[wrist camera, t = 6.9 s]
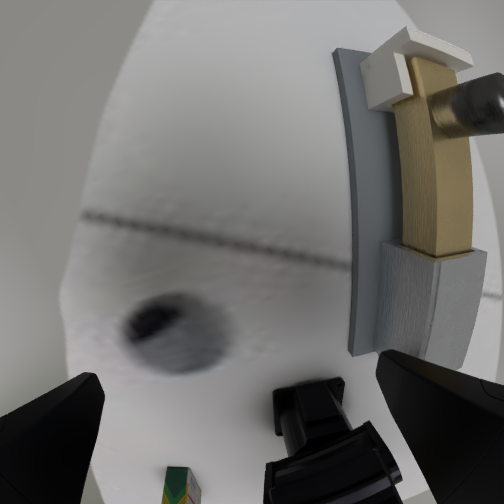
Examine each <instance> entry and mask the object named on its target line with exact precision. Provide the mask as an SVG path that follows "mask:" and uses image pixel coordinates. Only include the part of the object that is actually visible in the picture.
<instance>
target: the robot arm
mask: <svg viewBox="0 0 504 504" xmlns="http://www.w3.org/2000/svg"><path fill="white" fill-rule="evenodd" d="M376 378H377V381H378V383H379V386H380V388H381V390H382V393H383V395H384V398H385V400H386V403H387V405H388V408H389V410H390V412H391V414H392V416H393V418H394V420H395V422H396V424H397V426H398V428H399V429H400V431H401V433H402V435H403V437H404V439H405V441H406V442H407V444H408V446H409V448H410V450H411V452H412V454H413V456H414V458H415V460H416V462H417V464H418V466H419V468H420V470H421V471H422V473H423V475H424V477H425V479H426V482H427V484H428V486H429V488H430V490H431V492H432V494H433V496H434V498H435V500H436V502H437V504H504V385H501V384H497V383H493V382H490V381H486V380H483V379H479V378H477V377H473V376H470V375H467V374H464V373H461V372H458V371H455V370H452V369H449V368H446V367H443V366H440V365H437V364H434V363H431V362H428V361H425V360H422V359H419V358H416V357H414V356H411V355H408V354H405V353H402V352H400V351H397V350H394V349H389V350H385V351H382V352H381V353H380V354H379V358H378V363H377V368H376ZM338 383H339V384H338ZM344 386H345V382H344V380H343V379H342V378H337V379H332V380H328V381H323V382H318V383H313V384H308V385H303V386H297V387H291V388H285V389H279V390H275V391H274V392H273V408H274V423H275V434H276V435H277V436H283V437H284V441H285V445H286V449H287V454H288V457H287V458H284V459H281V460H278V461H275V462H273V461H272V462H269V463H266V471H265V479H264V496H263V504H403V503H402V500H401V498H400V496H399V494H398V491H397V489H396V487H395V485H396V484H397V483H399V482H401V481H402V480H403V479H402V475H401V472H400V470H399V468H398V465H397V463H396V461H395V459H394V457H393V455H392V454H391V452H390V450H389V449H388V447H387V446H386V444H385V443H384V441H383V440H382V438H381V437H380V435H379V434H378V432H377V431H376V429H375V428H374V426H373V425H372V423H371V422H370V421H367V422H365V423H363V425H361V426H360V427H358V428H356V429H354V430H353V428H352V426H351V424H350V423H349V421H348V419H347V417H346V415H345V413H344V411H343V409H342V400H343V393H344ZM279 394H280V395H279ZM277 395H279V396H277ZM104 401H105V394H104V391H103V388H102V386H101V384H100V381H99V379H98V377H97V375H96V374H95V373H90V372H83V373H82V374H80V375H78V376H76V377H74V378H73V379H71V380H69V381H67V382H65V383H64V384H62V385H60V386H58V387H56V388H54V389H53V390H51V391H49V392H48V393H45V394H43V395H42V396H40V397H38V398H36V399H34V400H32V401H31V402H29V403H27V404H25V405H23V406H21V407H19V408H17V409H16V410H14V411H12V412H10V413H8V415H7V414H6V415H4V416H2V417H0V504H80V502H81V498H82V494H83V489H84V485H85V481H86V477H87V473H88V468H89V465H90V461H91V457H92V454H93V450H94V447H95V443H96V440H97V436H98V431H99V426H100V421H101V415H102V410H103V405H104Z"/></svg>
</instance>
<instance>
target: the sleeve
mask: <svg viewBox="0 0 504 504" xmlns="http://www.w3.org/2000/svg"><path fill="white" fill-rule="evenodd" d="M486 259H487V252H485V251H482V250H479V249H476V248H473V247H471V252H469V253H464V254H459V255H453V256H448V257H443V258H437V259H434V258H432V257H429V256H427V255H424V254H422V253H419V252H417V251H414V250H412V249H409V248H406V247H404V246H403V238H401V239H392V240H383V241H380V266H379V286H378V300H377V311H376V321H375V330H374V338H373V346H372V348H373V349H374V350H375V351H376V352H377V353H378V355H379V354H380V353H381V352H382V351H385V350H389V349H394V350H397V351H400V352H402V353H405V354H408V355H411V356H414V357H416V358H419V359H422V360H425V361H428V362H431V363H434V364H437V365H440V366H443V367H446V368H449V369H452V370H457V369H459V368H461V367H462V365H463V362H464V359H465V356H466V353H467V350H468V346H469V343H470V339H471V336H472V332H473V329H474V325H475V321H476V316H477V312H478V308H479V303H480V298H481V293H482V287H483V281H484V275H485V267H486Z"/></svg>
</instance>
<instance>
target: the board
mask: <svg viewBox="0 0 504 504" xmlns="http://www.w3.org/2000/svg"><path fill="white" fill-rule="evenodd" d="M370 54H372V53H367V52H361V51H355V50H349V49H342V48H336V50H335V51H334V52H333V58H334V63H335V68H336V73H337V78H338V84H339V89H340V95H341V102H342V108H343V115H344V123H345V131H346V139H347V148H348V158H349V170H350V183H351V200H352V225H353V281H352V307H351V324H350V337H349V348H348V351H349V352H350V354H351V355H352V357H354V356H358V355H362V354H366V353H370V352H374V351H375V350H374V349H373V348H372V346H373V338H374V330H375V321H376V311H377V300H378V286H379V266H380V241H383V240H392V239H401V238H403V194H402V175H401V162H400V151H399V142H398V134H397V127H396V120H395V113H393V112H386V111H378V110H369V109H368V104H367V99H366V93H365V87H364V82H363V77H362V73H361V68H360V63H361V62H362V61H363V60H364V59H366V58H367V57H368V56H369V55H370Z"/></svg>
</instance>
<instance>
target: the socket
mask: <svg viewBox="0 0 504 504" xmlns="http://www.w3.org/2000/svg"><path fill="white" fill-rule="evenodd" d="M414 57H419V58H422V59H425V60H428V61H431V62H434V63H437V64H439V65H442V66H445V67H447V68H450V69H452V70H455V74H456V73H457V72H460V71H462V70H465V69H468V68H470V67H473V66H474V64H473V61H472V58H471V55H470V53H468V52H466V51H464V50H462V49H460V48H458V47H456V46H454V45H452V44H450V43H447V42H445V41H443V40H441V39H438V38H436V37H434V36H431V35H429V34H426V33H423V32H421V31H418V30H416V29H413V28H410V27H407V26H406V27H404V28H403V29H402V30H401V31H399V32H398V33H397V34H395V35H394V36H393V37H392V38H390V39H389V40H388V41H386V42H385V43H384V44H383V45H381V46H380V47H379V48H378V49H377V50H375V51H374V52H373V53H372V54H370V55H369V56H368V57H367V58H366V59H364V60H363V61H362V62H361V63H360V68H361V73H362V77H363V82H364V87H365V93H366V99H367V104H368V109H369V110H378V111H386V112H393V113H394V107H393V103H395V102H398V101H400V100H402V99H405V98H407V97H409V96H412V95H413V91H412V86H411V82H410V77H409V73H408V69H407V65H406V62H407V61H409V60H411V59H412V58H414ZM456 77H457V75H456ZM457 81H458V78H457ZM458 84H459V82H458Z"/></svg>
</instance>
